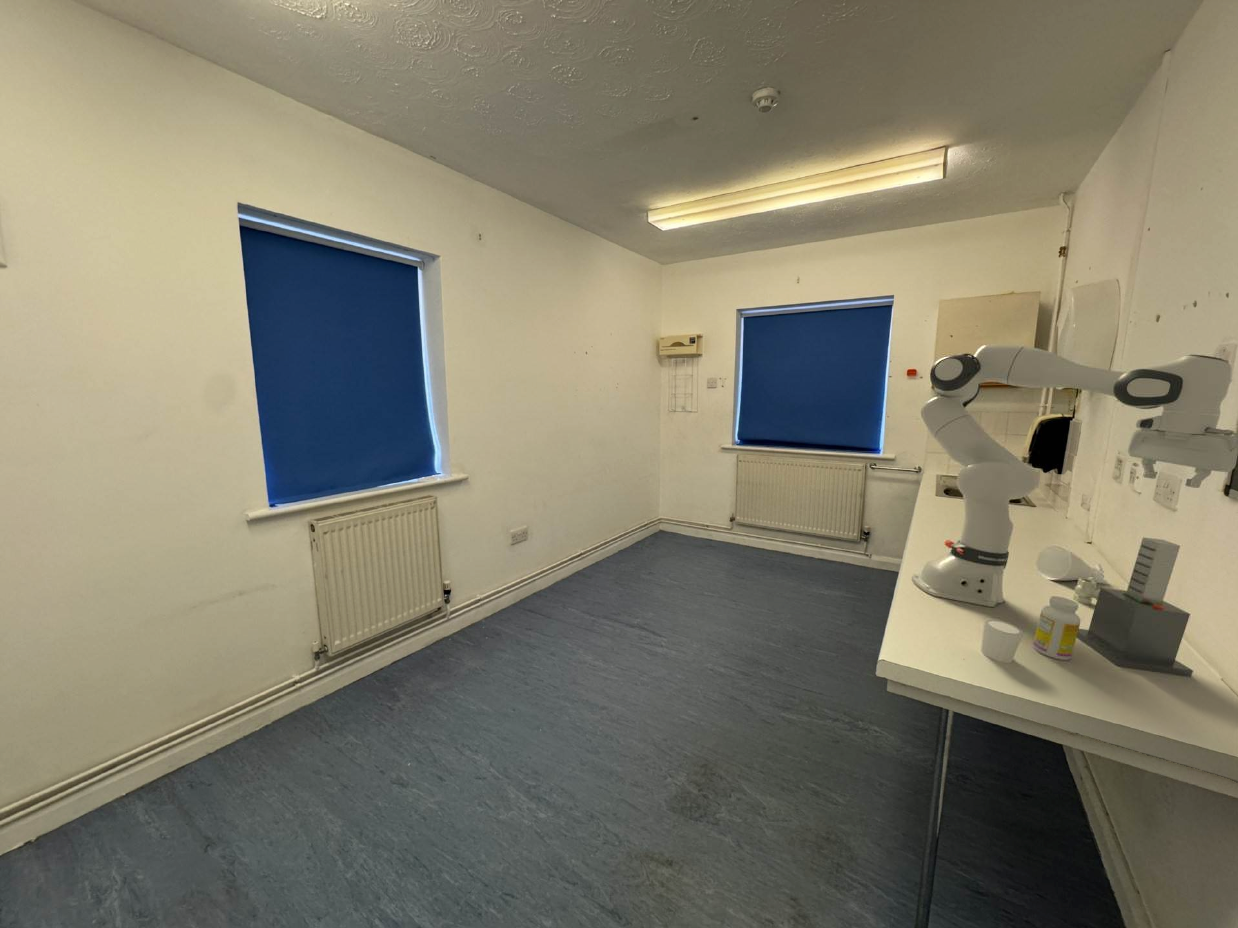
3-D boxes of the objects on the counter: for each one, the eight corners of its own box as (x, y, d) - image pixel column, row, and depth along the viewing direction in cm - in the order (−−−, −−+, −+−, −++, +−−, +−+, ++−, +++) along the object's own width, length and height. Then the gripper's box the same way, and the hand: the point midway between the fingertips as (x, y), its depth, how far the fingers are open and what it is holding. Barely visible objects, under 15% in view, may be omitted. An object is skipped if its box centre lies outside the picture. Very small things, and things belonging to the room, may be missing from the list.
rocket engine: (1114, 553, 155) (1063, 538, 154) (1131, 587, 148) (1077, 570, 147) (1080, 568, 164) (1031, 554, 163) (1094, 600, 157) (1043, 585, 156)
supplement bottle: (1071, 654, 110) (1086, 602, 108) (1069, 664, 106) (1084, 611, 103) (1033, 641, 115) (1047, 591, 113) (1029, 650, 111) (1043, 599, 108)
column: (1132, 626, 109) (1157, 543, 105) (1116, 617, 113) (1140, 537, 109) (1154, 629, 109) (1181, 546, 105) (1138, 620, 113) (1163, 539, 109)
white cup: (978, 642, 112) (985, 615, 111) (1016, 655, 108) (1023, 626, 107) (976, 654, 107) (983, 626, 106) (1015, 668, 103) (1023, 638, 102)
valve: (1072, 602, 139) (1131, 619, 131) (1078, 581, 137) (1138, 596, 130) (1071, 595, 144) (1129, 611, 136) (1077, 575, 142) (1135, 589, 135)
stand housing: (1117, 666, 107) (1135, 607, 104) (1070, 633, 120) (1085, 580, 117) (1191, 676, 105) (1211, 617, 102) (1134, 641, 118) (1151, 588, 115)
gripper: (1256, 432, 104) (1235, 494, 106) (1154, 421, 124) (1139, 474, 126) (1226, 430, 104) (1207, 492, 106) (1130, 420, 124) (1115, 472, 126)
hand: (1169, 482), depth 117 cm, fingers open, 8 cm apart
